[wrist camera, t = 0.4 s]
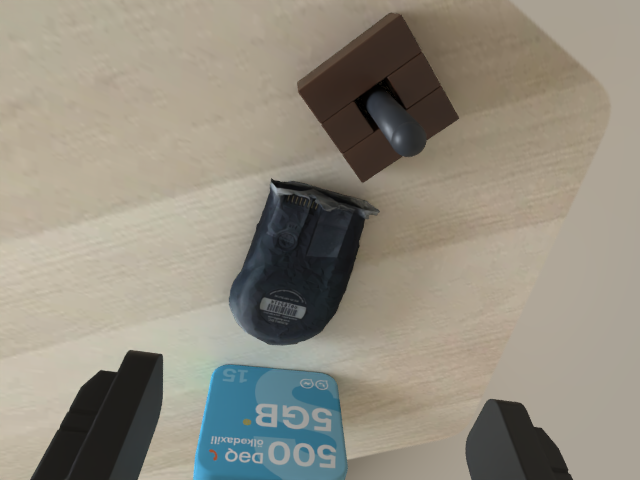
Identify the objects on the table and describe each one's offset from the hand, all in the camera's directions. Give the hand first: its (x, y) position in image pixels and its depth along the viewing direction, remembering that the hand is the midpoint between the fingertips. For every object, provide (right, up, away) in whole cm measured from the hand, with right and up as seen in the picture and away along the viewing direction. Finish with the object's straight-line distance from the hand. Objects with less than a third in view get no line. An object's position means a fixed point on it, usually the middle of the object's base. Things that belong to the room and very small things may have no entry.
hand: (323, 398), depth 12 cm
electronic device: (-2, +2, +30) cm, 30 cm away
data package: (-5, -10, +36) cm, 38 cm away
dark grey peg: (+4, +15, +24) cm, 28 cm away
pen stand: (+4, +15, +24) cm, 28 cm away
